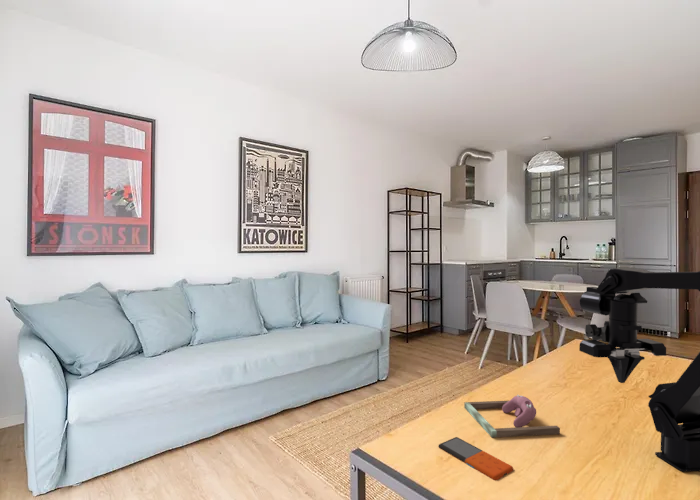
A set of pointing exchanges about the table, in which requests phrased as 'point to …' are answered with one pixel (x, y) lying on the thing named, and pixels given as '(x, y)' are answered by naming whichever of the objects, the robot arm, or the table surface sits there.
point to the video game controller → (520, 410)
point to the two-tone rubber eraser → (476, 458)
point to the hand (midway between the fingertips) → (621, 382)
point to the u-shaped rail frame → (505, 432)
